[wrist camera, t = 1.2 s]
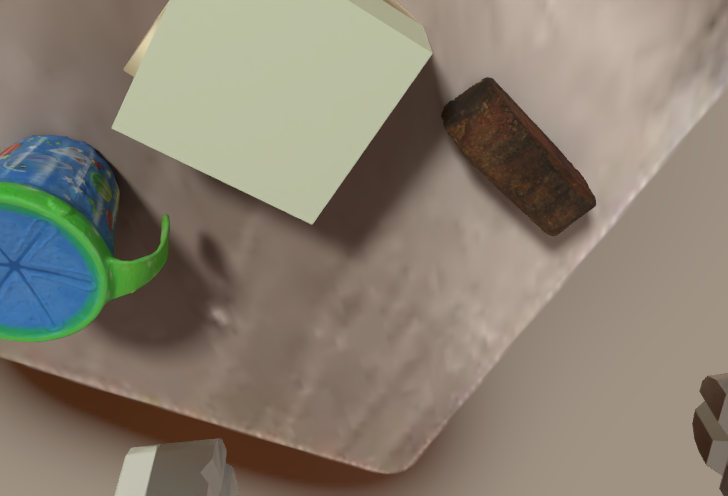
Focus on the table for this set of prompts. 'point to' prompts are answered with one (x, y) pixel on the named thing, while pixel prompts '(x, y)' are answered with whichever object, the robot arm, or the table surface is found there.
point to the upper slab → (273, 91)
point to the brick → (517, 156)
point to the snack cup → (61, 240)
